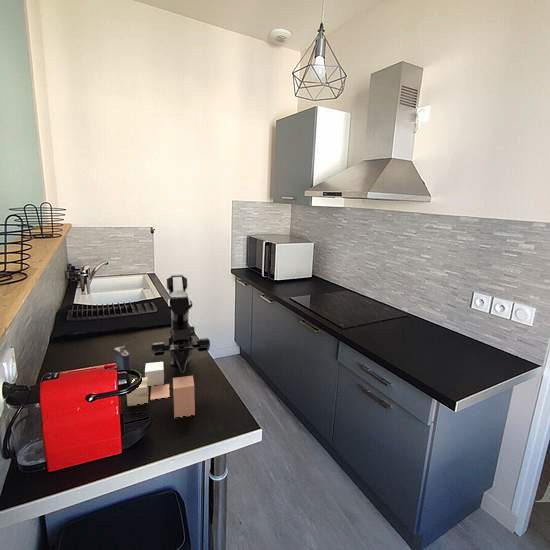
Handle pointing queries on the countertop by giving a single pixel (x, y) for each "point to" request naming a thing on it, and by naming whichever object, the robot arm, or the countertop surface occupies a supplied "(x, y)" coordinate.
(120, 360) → the flask
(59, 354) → the countertop surface
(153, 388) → the colour card
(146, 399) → the birch block
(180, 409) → the terracotta block
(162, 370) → the white block
